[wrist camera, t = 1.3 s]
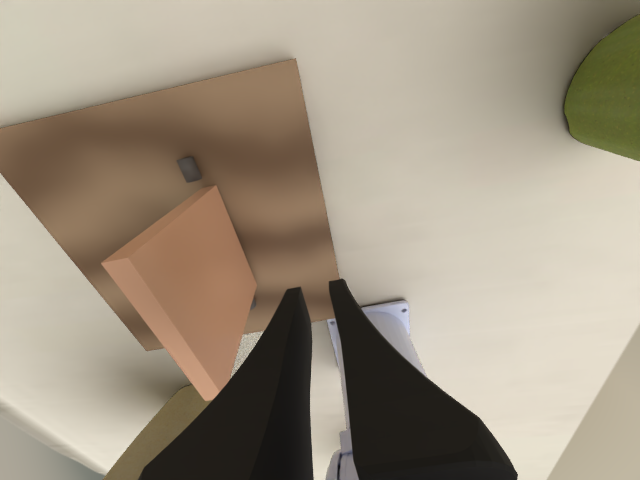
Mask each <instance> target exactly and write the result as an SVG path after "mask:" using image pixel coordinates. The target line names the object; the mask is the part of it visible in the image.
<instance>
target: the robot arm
mask: <svg viewBox="0 0 640 480" xmlns="http://www.w3.org/2000/svg"><path fill="white" fill-rule="evenodd" d="M329 293H330V298H331V302H332V306H333V311H334V315H335V318H334V319H328V320H327V324H328V328H329V332H330V335H331V339H332V343H333V347H334V351H335V355H336V359H337V363H338V367H339V371H340V378H341V386H342V394H343V403H344V411H345V420H346V428H347V430H345V431H342V432H340V442H341V450H337V451H336V452H334V454H333V455H332V458H331V461H330V464H329V467H328V469H327V473H326V480H517V477H518V474H517V472H516V471H515V469H514V467H513V465H512V463H511V461H510V459H509V458H508V456H507V455H506V453H505V452H504V450H503V449H502V447H501V446H500V444H499V443H498V441H497V440H496V439H495V437H494V436H493V435H492V433H491V432H490V431H489V429H488V428H487V427H486V425H485V424H484V423H483V422H482V420H481V419H480V418H479V417H478V416H477V415H475V414H474V413H472V412H471V411H470V410H468V409H467V408H466V407H464V406H463V405H461V404H460V403H459V402H457V401H456V400H455V399H453V398H452V397H451V396H449V395H448V394H447V393H446V392H444V391H443V390H442V389H441V388H439V387H438V386H437V385H436V384H434V383H433V382H432V381H431V380H429V379H428V378H427V375H426V373H425V371H424V369H423V366H422V364H421V362H420V360H419V357H418V355H417V353H416V351H415V348H414V346H413V344H412V341H411V339H410V324H409V304H408V302H407V301H405V300H402V301H396V302H390V303H385V304H379V305H373V306H368V307H362V308H360V307H359V305H358V304H357V302H356V301H355V299H354V297H353V296H352V294H351V292H350V291H349V289H348V287H347V284H346V281H345V280H343V279H339V280H334V281H329ZM402 309H403V310H402ZM331 321H334V322H331ZM311 359H312V331H311V319H310V316H309V312H308V309H307V306H306V302H305V299H304V296H303V292H302V289H301V287H295V288H290V289H287V290H286V291H285V294H284V296H283V298H282V300H281V302H280V304H279V306H278V308H277V309H276V311H275V313H274V315H273V317H272V319H271V320H270V322H269V324H268V326H267V327H266V329H265V331H264V332H263V334H262V336H261V337H260V339H259V340H258V342H257V344H256V345H255V347H254V348H253V350H252V351H251V353H250V354H249V355H248V357H247V358H246V360H245V361H244V362H243V364H242V365H241V366H240V368H239V369H238V370H237V372H236V373H235V374H234V375H233V377H232V378H231V379H230V380H229V382H228V383H227V384H226V385H225V386H224V388H223V389H222V390H221V391H220V392H219V393H218V395H217V396H216V397H215V398H214V399H213V400H212V401H211V402H210V403H209V405H208V406H207V407H206V408H205V409H204V410H203V411H202V412H201V413H200V414H199V415H198V416H197V417H196V418H195V419H194V420H193V421H192V422H191V423H190V424H189V425H188V426H187V427H186V428H185V429H184V430H183V431H182V432H181V433H180V434H179V435H178V436H177V437H176V438H175V439H174V440H173V441H172V442H171V443H170V444H169V445H168V446H167V447H165V448H164V449H163V450H162V451H161V452H160V453H159V454H158V455H157V456H156V457H155V458H154V459H153V460H152V461H150V462H149V463H148V464H147V465H146V466H145V467H144V468H143V470H142V472H141V474H140V476H139V478H138V480H314V479H313V463H312V444H311V423H310V381H311Z"/></svg>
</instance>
